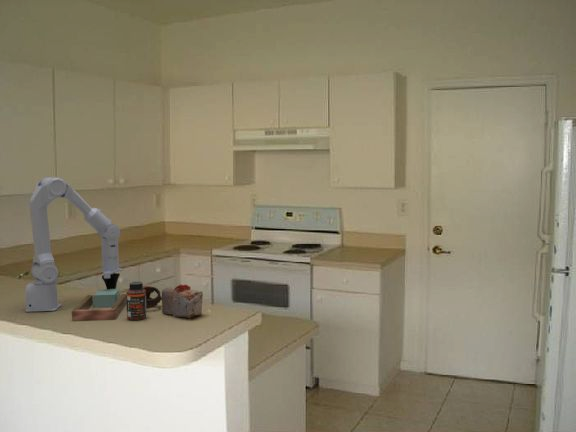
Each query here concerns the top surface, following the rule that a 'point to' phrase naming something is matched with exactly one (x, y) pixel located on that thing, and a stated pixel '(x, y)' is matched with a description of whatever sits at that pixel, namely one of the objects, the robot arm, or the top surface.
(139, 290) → the supplement bottle
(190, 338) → the top surface
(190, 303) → the food item
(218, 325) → the top surface
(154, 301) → the pottery mug
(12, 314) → the top surface
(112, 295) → the block
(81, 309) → the guide channel
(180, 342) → the top surface
